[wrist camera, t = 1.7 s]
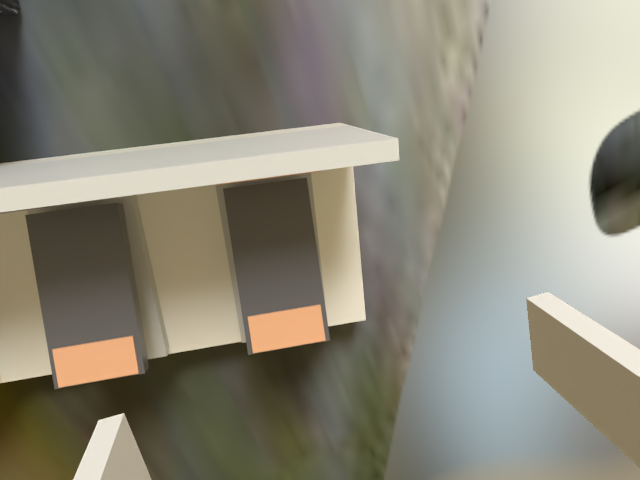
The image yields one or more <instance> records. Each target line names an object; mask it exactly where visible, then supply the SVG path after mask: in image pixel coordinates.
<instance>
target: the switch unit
mask: <svg viewBox="0 0 640 480" xmlns="http://www.w3.org/2000/svg"><path fill="white" fill-rule="evenodd" d="M397 160H399V146H398V138H395V137H391V136H387V135H384V134H380V133H376V132H372V131H369V130H365V129H361V128H357V127H354V126H350V125H346V124H343V123H334V124H326V125H318V126H309V127H301V128H292V129H284V130H276V131H267V132H259V133H250V134H242V135H234V136H225V137H217V138H209V139H200V140H192V141H183V142H175V143H167V144H158V145H150V146H141V147H133V148H125V149H116V150H108V151H99V152H91V153H83V154H74V155H66V156H57V157H49V158H41V159H32V160H24V161H16V162H7V163H0V383H5V382H10V381H16V380H22V379H28V378H33V377H39V376H45V375H51V374H52V371H51V365H50V359H49V353H48V347H47V341H46V335H45V329H44V323H43V317H42V312H41V306H40V300H39V294H38V288H37V282H36V276H35V270H34V264H33V258H32V252H31V247H30V241H29V235H28V229H27V223H26V217H25V215H28V214H35V213H43V212H50V211H58V210H66V209H73V208H81V207H88V206H96V205H103V204H111V203H122V204H123V207H124V213H125V219H126V226H127V232H128V238H129V244H130V251H131V257H132V263H133V269H134V275H135V282H136V288H137V294H138V300H139V307H140V313H141V319H142V325H143V332H144V338H145V344H146V350H147V356H148V359H153V358H159V357H165V356H167V355H168V354H172V353H178V352H184V351H190V350H195V349H201V348H207V347H213V346H218V345H224V344H230V343H236V342H242V343H245V342H246V337H245V330H244V324H243V317H242V311H241V304H240V298H239V291H238V284H237V278H236V271H235V265H234V258H233V251H232V245H231V238H230V232H229V225H228V218H227V212H226V205H225V199H224V192H223V189H224V188H231V187H239V186H247V185H254V184H262V183H269V182H277V181H284V180H292V179H299V178H307V183H308V190H309V197H310V204H311V211H312V218H313V225H314V232H315V239H316V246H317V252H318V259H319V266H320V273H321V280H322V287H323V294H324V301H325V308H326V315H327V322H328V326H334V325H340V324H346V323H351V322H357V321H363V320H366V317H365V305H364V293H363V281H362V269H361V257H360V245H359V233H358V221H357V209H356V197H355V185H354V173H353V166H359V165H366V164H374V163H382V162H389V161H397Z"/></svg>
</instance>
